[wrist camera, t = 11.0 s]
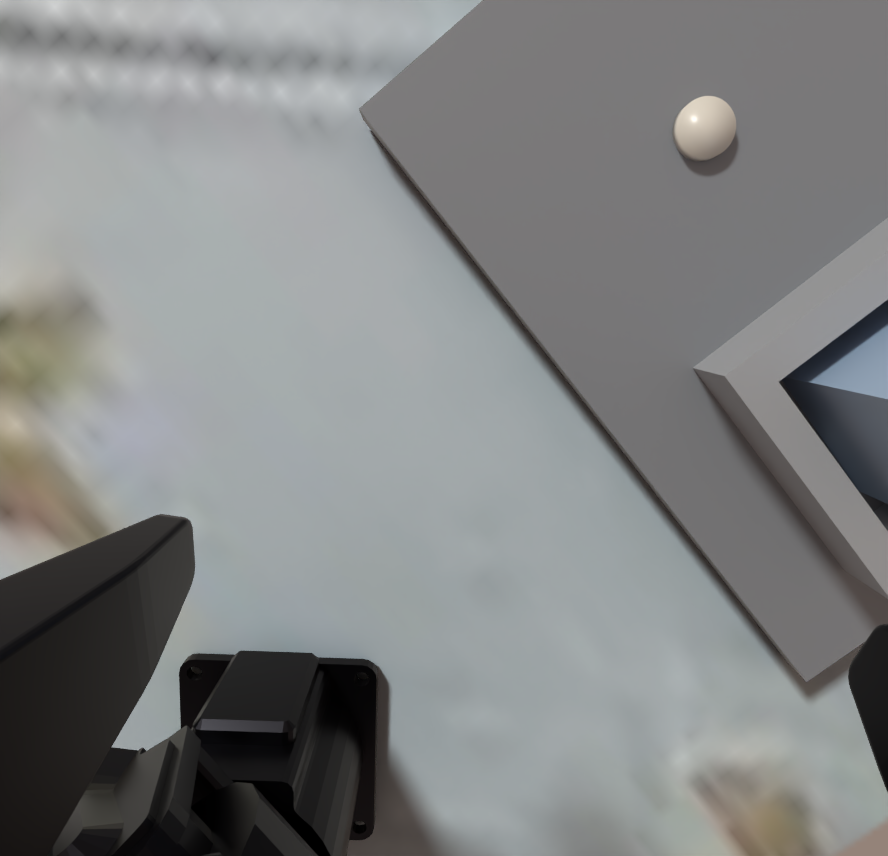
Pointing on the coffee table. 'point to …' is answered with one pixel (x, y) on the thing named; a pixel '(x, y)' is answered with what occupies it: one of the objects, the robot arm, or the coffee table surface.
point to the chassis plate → (683, 254)
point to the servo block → (851, 400)
